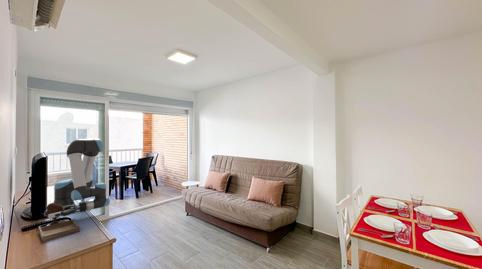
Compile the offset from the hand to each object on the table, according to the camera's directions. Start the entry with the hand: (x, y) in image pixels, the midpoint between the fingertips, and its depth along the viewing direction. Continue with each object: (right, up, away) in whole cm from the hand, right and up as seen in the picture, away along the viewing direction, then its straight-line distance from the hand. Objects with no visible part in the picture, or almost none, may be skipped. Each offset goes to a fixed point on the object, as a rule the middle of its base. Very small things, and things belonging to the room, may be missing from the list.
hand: (47, 214), depth 144 cm
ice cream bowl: (+3, -8, +3) cm, 9 cm away
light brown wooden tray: (+16, -8, -9) cm, 20 cm away
